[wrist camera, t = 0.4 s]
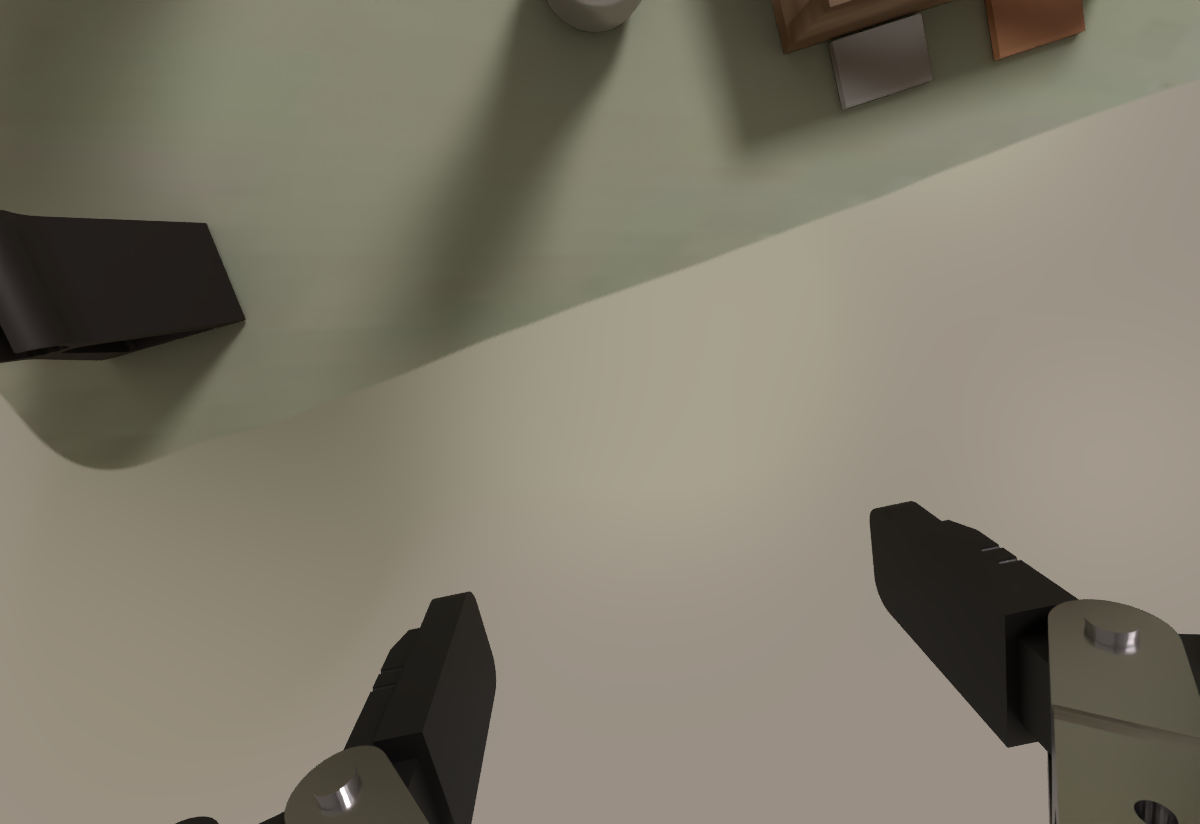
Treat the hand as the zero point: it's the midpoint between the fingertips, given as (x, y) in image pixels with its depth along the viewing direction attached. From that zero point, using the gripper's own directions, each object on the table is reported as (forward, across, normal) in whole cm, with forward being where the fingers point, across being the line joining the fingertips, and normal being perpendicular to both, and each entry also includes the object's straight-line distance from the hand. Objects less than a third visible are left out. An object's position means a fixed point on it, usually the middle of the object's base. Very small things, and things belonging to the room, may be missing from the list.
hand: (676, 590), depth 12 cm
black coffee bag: (+28, +26, -10) cm, 39 cm away
